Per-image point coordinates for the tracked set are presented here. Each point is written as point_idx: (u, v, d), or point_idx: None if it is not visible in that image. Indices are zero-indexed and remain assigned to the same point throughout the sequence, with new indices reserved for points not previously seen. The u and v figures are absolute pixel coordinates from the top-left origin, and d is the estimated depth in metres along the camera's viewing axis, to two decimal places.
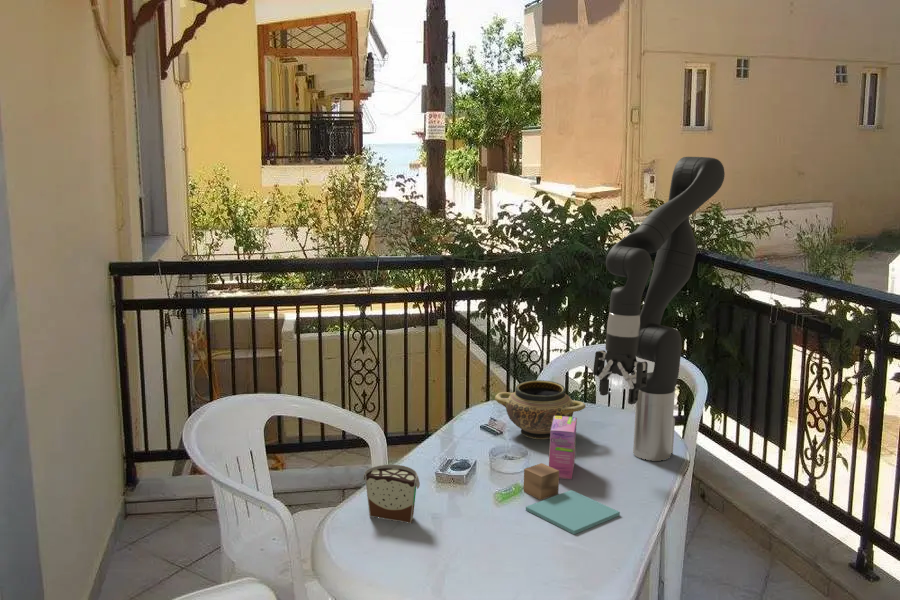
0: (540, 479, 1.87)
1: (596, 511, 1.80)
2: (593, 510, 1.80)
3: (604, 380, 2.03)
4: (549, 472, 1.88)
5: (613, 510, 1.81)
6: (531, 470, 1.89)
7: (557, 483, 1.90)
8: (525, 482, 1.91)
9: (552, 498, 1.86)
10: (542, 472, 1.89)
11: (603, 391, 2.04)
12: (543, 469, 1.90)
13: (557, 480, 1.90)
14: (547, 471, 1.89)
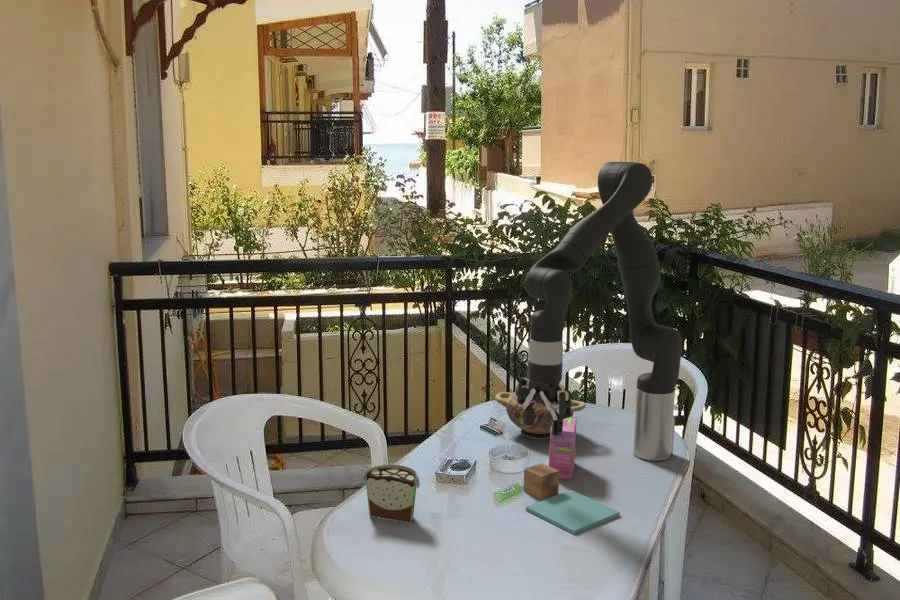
0: (540, 479, 1.87)
1: (596, 511, 1.80)
2: (593, 510, 1.80)
3: (528, 409, 1.90)
4: (549, 472, 1.88)
5: (613, 510, 1.81)
6: (531, 470, 1.89)
7: (557, 483, 1.90)
8: (525, 482, 1.91)
9: (552, 498, 1.86)
10: (542, 472, 1.89)
11: (528, 421, 1.90)
12: (543, 469, 1.90)
13: (557, 480, 1.90)
14: (547, 471, 1.89)
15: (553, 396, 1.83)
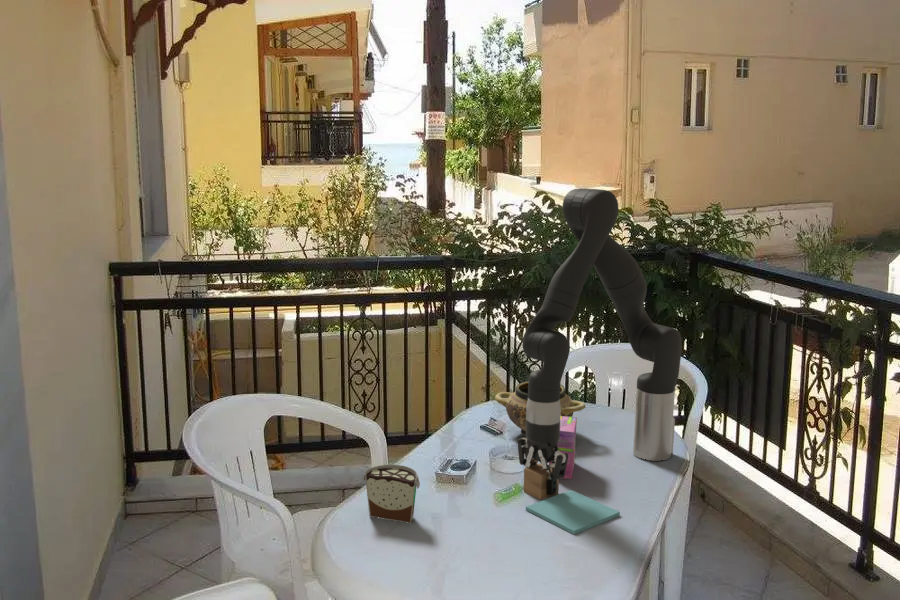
0: (540, 478, 1.87)
1: (596, 511, 1.80)
2: (593, 510, 1.80)
3: None
4: None
5: (613, 510, 1.81)
6: (531, 470, 1.89)
7: (557, 483, 1.90)
8: (525, 482, 1.90)
9: (552, 498, 1.86)
10: (542, 471, 1.89)
11: None
12: (543, 469, 1.90)
13: (557, 480, 1.90)
14: None
15: (551, 457, 1.86)
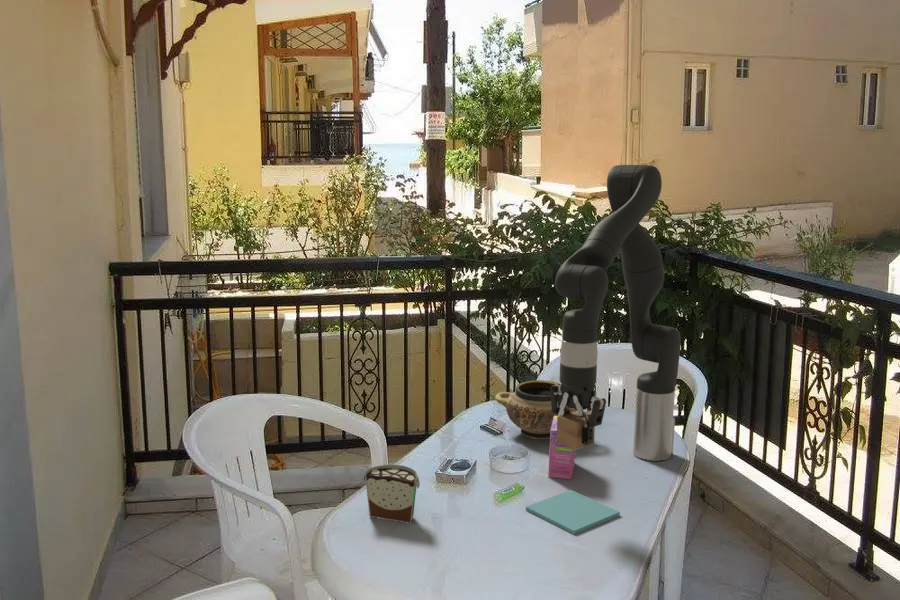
0: (575, 426, 1.74)
1: (596, 511, 1.80)
2: (593, 510, 1.80)
3: None
4: None
5: (613, 510, 1.81)
6: (565, 418, 1.76)
7: (593, 432, 1.77)
8: (559, 431, 1.77)
9: (552, 498, 1.86)
10: (577, 419, 1.76)
11: None
12: (578, 417, 1.77)
13: (593, 429, 1.77)
14: None
15: (587, 403, 1.73)
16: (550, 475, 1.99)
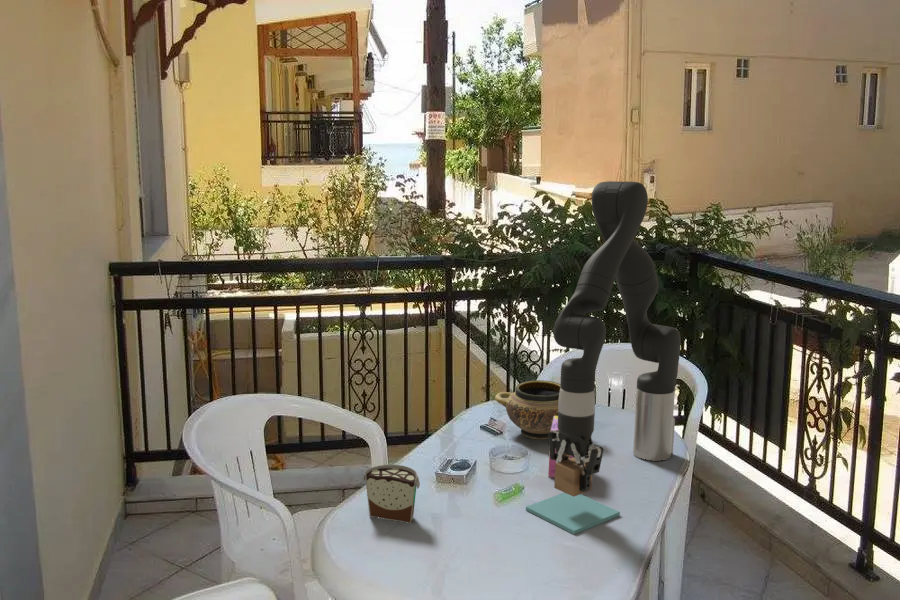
0: (573, 474, 1.75)
1: (596, 511, 1.80)
2: (593, 510, 1.80)
3: None
4: None
5: (613, 510, 1.81)
6: (563, 465, 1.78)
7: None
8: (557, 478, 1.79)
9: (552, 498, 1.86)
10: (575, 466, 1.78)
11: None
12: (575, 464, 1.79)
13: None
14: None
15: (584, 451, 1.75)
16: (550, 475, 1.99)
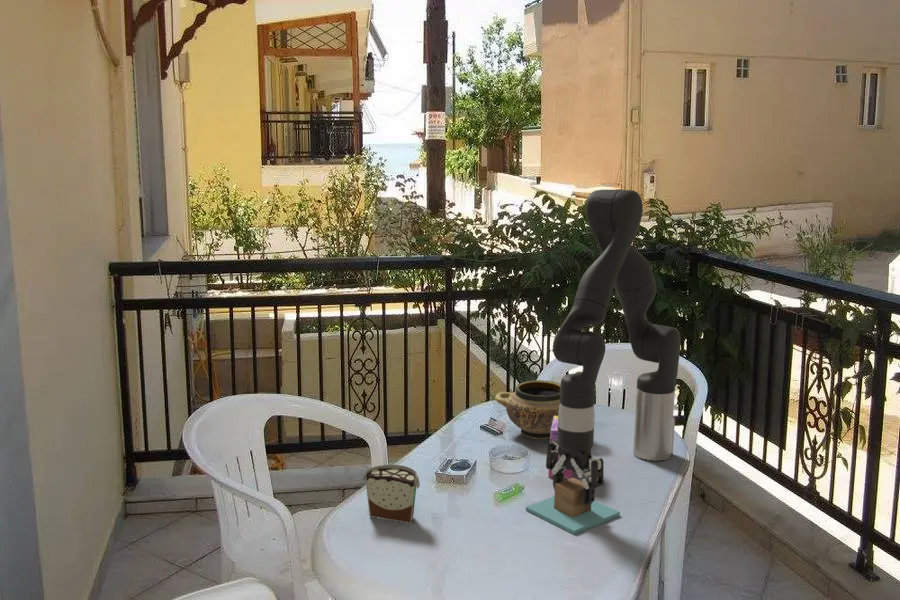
0: (572, 495, 1.77)
1: (596, 511, 1.80)
2: (593, 510, 1.80)
3: (558, 475, 1.82)
4: (581, 488, 1.78)
5: (613, 510, 1.81)
6: (562, 486, 1.79)
7: None
8: (556, 498, 1.80)
9: (552, 498, 1.86)
10: (574, 487, 1.79)
11: None
12: (575, 484, 1.80)
13: None
14: (580, 486, 1.79)
15: (585, 464, 1.75)
16: (550, 475, 1.99)
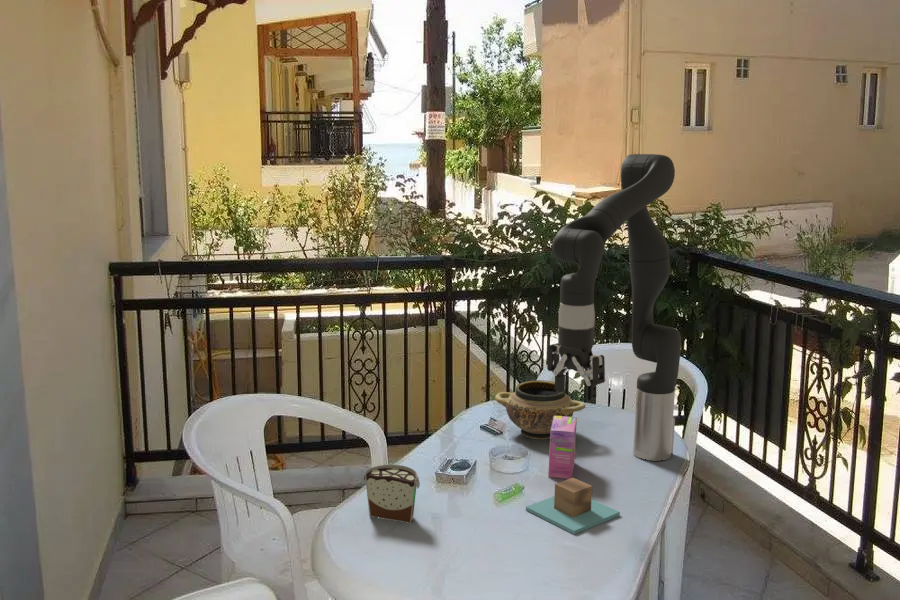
0: (572, 495, 1.77)
1: (596, 511, 1.80)
2: (593, 510, 1.80)
3: (559, 376, 1.85)
4: (581, 488, 1.78)
5: (613, 510, 1.81)
6: (562, 486, 1.79)
7: (590, 499, 1.80)
8: (556, 498, 1.80)
9: (552, 498, 1.86)
10: (574, 487, 1.79)
11: (559, 388, 1.85)
12: (575, 484, 1.80)
13: (590, 496, 1.80)
14: (580, 486, 1.79)
15: (586, 361, 1.78)
16: (550, 475, 1.99)
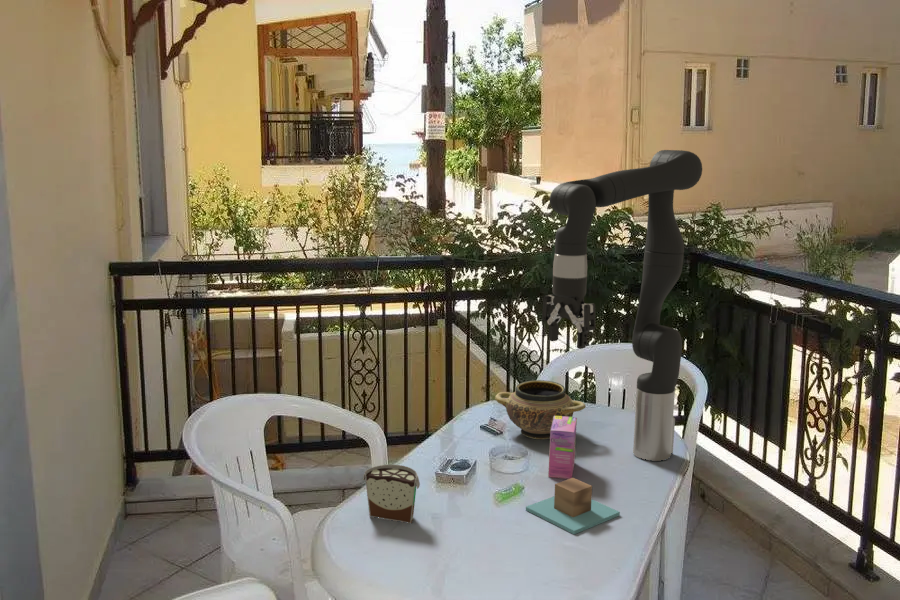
0: (572, 495, 1.77)
1: (596, 511, 1.80)
2: (593, 510, 1.80)
3: (553, 325, 1.95)
4: (581, 488, 1.78)
5: (613, 510, 1.81)
6: (562, 486, 1.79)
7: (590, 499, 1.80)
8: (556, 498, 1.80)
9: (552, 498, 1.86)
10: (574, 487, 1.79)
11: (552, 337, 1.95)
12: (575, 484, 1.80)
13: (590, 496, 1.80)
14: (580, 486, 1.79)
15: (578, 309, 1.88)
16: (550, 475, 1.99)
